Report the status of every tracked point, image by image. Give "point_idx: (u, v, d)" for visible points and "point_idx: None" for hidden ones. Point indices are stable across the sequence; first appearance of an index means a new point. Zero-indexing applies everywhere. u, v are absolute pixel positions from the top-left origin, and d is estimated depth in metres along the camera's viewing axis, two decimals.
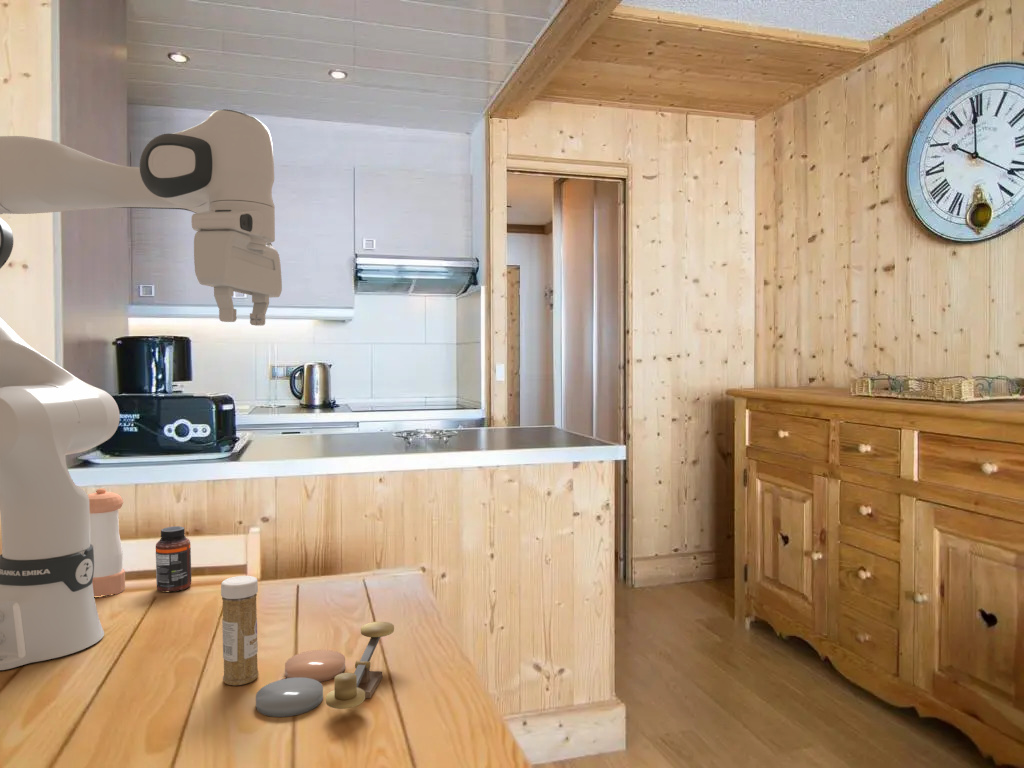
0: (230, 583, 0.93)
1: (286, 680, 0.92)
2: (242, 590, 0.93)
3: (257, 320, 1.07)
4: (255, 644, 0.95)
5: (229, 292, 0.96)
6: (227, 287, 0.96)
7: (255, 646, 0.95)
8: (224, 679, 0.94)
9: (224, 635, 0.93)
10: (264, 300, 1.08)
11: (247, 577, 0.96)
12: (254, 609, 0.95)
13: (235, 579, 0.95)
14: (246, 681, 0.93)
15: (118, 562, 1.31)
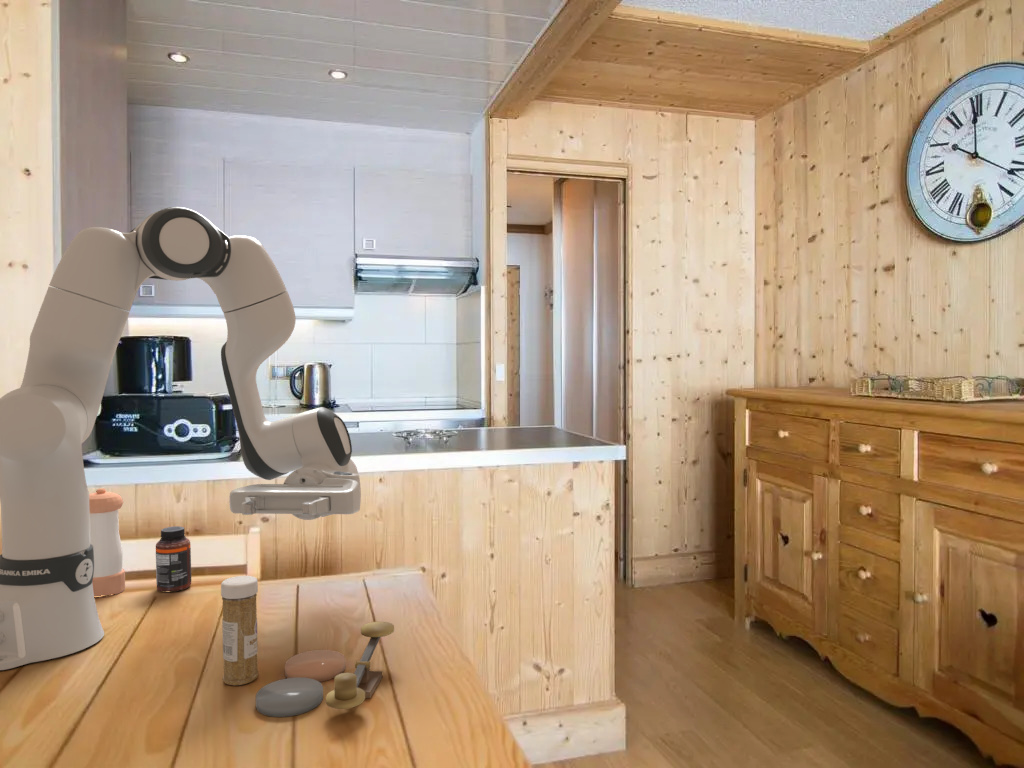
0: (230, 584, 0.93)
1: (286, 680, 0.92)
2: (242, 590, 0.93)
3: (252, 510, 1.07)
4: (255, 644, 0.95)
5: None
6: (329, 509, 1.10)
7: (255, 646, 0.95)
8: (224, 679, 0.94)
9: (224, 635, 0.93)
10: None
11: (247, 577, 0.96)
12: (254, 609, 0.95)
13: (235, 579, 0.95)
14: (246, 681, 0.93)
15: (118, 562, 1.31)
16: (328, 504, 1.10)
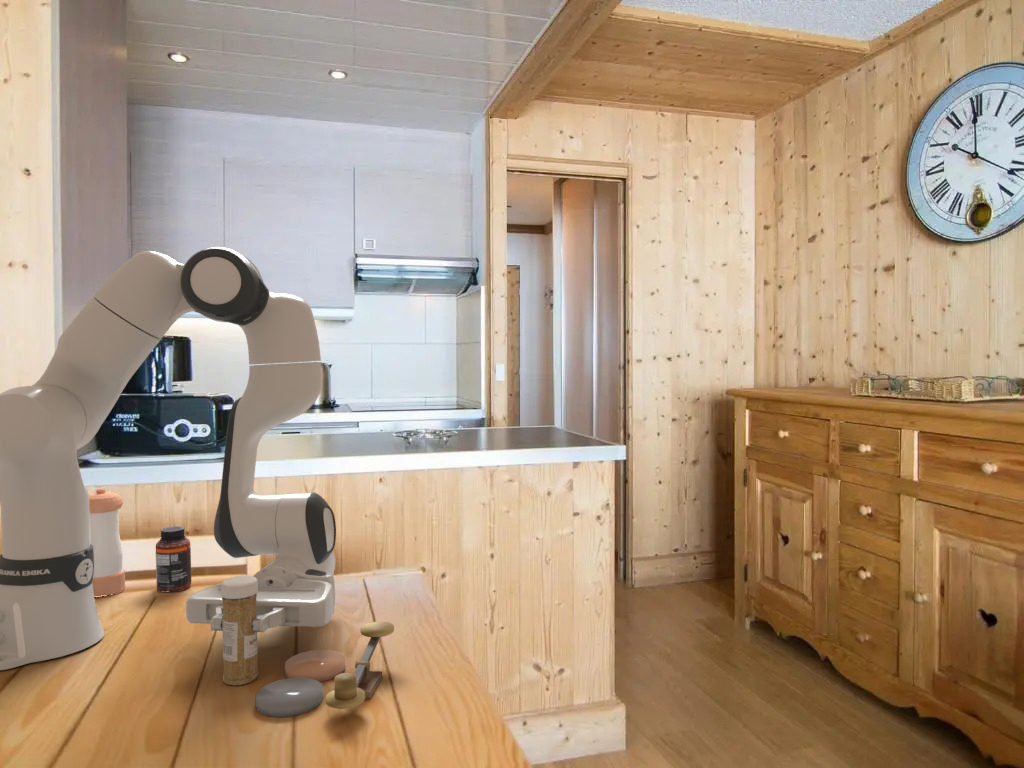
0: (230, 583, 0.93)
1: (286, 680, 0.92)
2: (242, 590, 0.93)
3: None
4: (255, 644, 0.95)
5: None
6: (285, 621, 0.98)
7: (255, 646, 0.95)
8: (224, 679, 0.94)
9: (224, 635, 0.93)
10: None
11: (247, 577, 0.96)
12: (254, 609, 0.95)
13: (235, 579, 0.95)
14: (247, 681, 0.93)
15: (118, 562, 1.31)
16: (283, 616, 0.98)
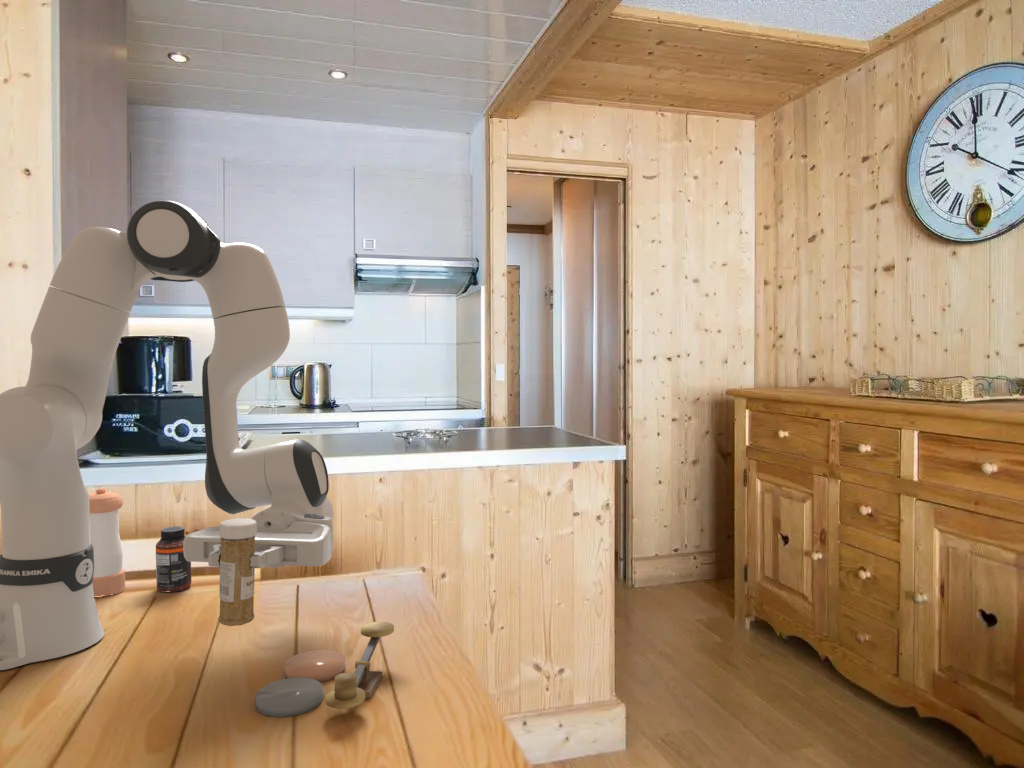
0: (229, 524, 0.93)
1: (286, 680, 0.92)
2: (241, 531, 0.92)
3: None
4: (252, 586, 0.94)
5: None
6: (282, 559, 0.98)
7: (252, 588, 0.94)
8: (220, 619, 0.93)
9: (221, 576, 0.93)
10: None
11: (246, 519, 0.95)
12: (252, 551, 0.94)
13: (234, 520, 0.95)
14: (242, 623, 0.93)
15: (118, 562, 1.31)
16: (281, 554, 0.97)
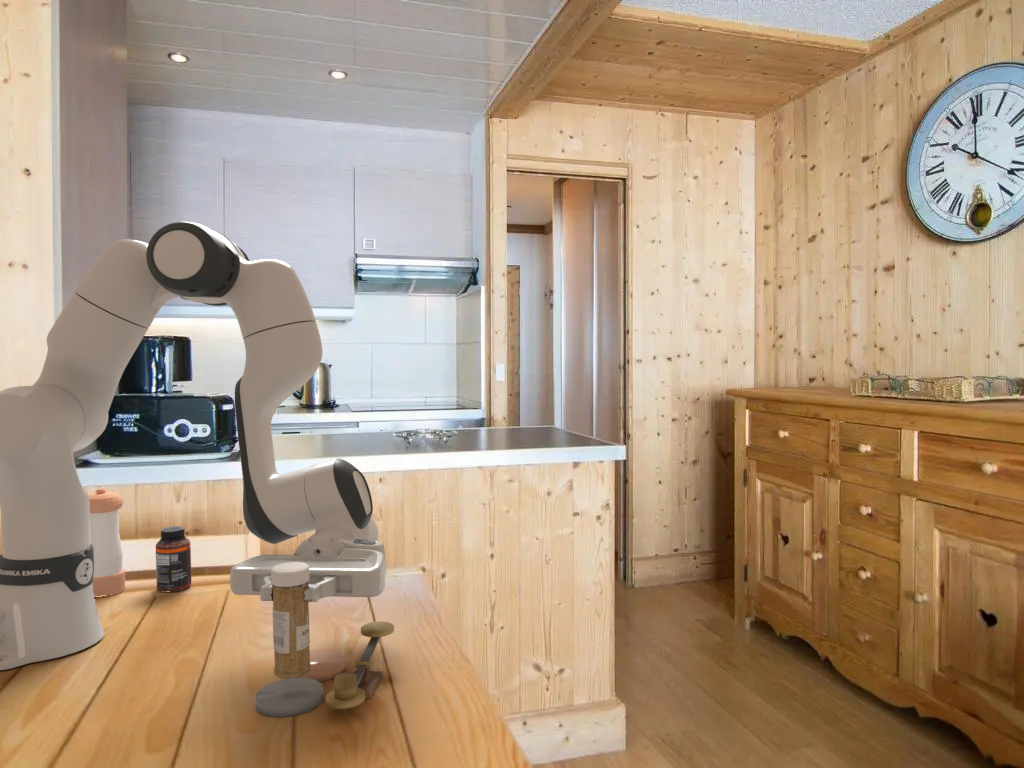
0: (281, 570, 0.87)
1: (286, 680, 0.92)
2: (294, 578, 0.86)
3: None
4: (307, 635, 0.88)
5: None
6: (336, 591, 0.92)
7: (307, 637, 0.88)
8: (275, 672, 0.88)
9: (275, 626, 0.87)
10: None
11: (298, 564, 0.89)
12: None
13: (285, 566, 0.89)
14: (299, 675, 0.87)
15: (118, 562, 1.31)
16: (335, 585, 0.91)
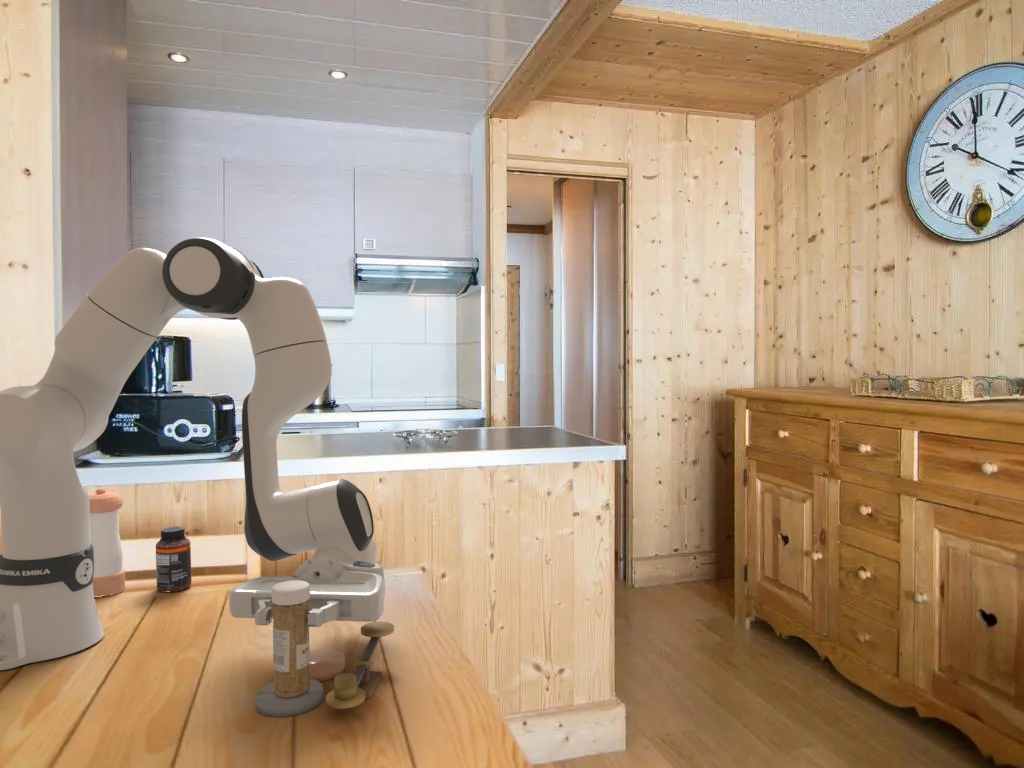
0: (281, 589, 0.87)
1: None
2: (294, 596, 0.87)
3: (268, 619, 0.89)
4: (307, 653, 0.89)
5: None
6: (339, 615, 0.92)
7: (307, 656, 0.89)
8: (275, 691, 0.88)
9: (275, 644, 0.87)
10: None
11: (298, 582, 0.90)
12: (306, 616, 0.89)
13: (286, 584, 0.89)
14: (299, 694, 0.87)
15: (118, 562, 1.31)
16: (338, 609, 0.91)
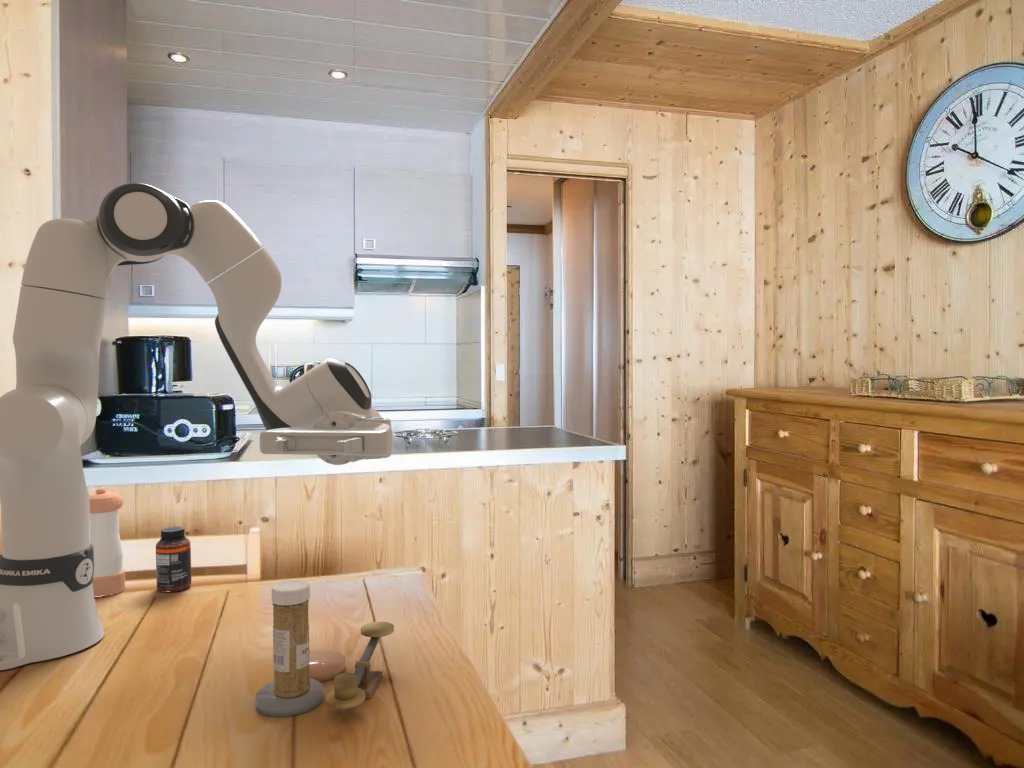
0: (281, 589, 0.87)
1: None
2: (294, 596, 0.87)
3: (285, 448, 1.05)
4: (307, 653, 0.89)
5: None
6: (363, 449, 1.08)
7: (307, 656, 0.89)
8: (275, 691, 0.88)
9: (275, 644, 0.87)
10: None
11: (298, 582, 0.90)
12: (306, 616, 0.89)
13: (286, 584, 0.89)
14: (299, 694, 0.87)
15: (118, 562, 1.31)
16: (362, 444, 1.07)
